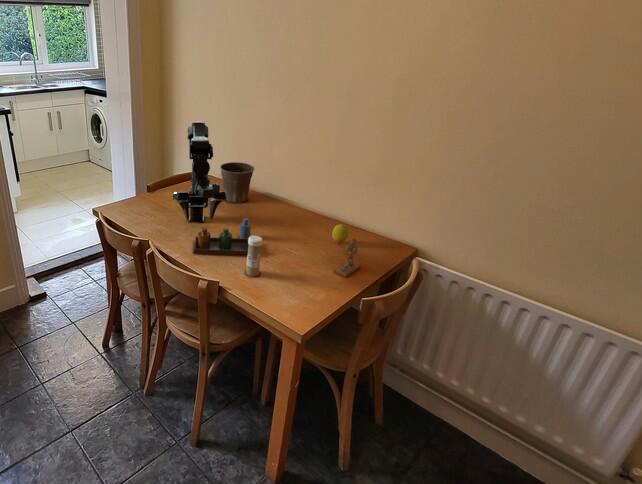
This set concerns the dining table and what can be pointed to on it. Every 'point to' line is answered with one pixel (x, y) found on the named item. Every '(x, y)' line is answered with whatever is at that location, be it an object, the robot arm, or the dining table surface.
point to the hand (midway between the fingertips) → (199, 219)
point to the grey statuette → (349, 266)
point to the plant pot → (236, 181)
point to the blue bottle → (245, 229)
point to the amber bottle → (204, 239)
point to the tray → (237, 248)
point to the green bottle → (225, 240)
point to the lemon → (340, 233)
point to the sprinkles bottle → (254, 255)
